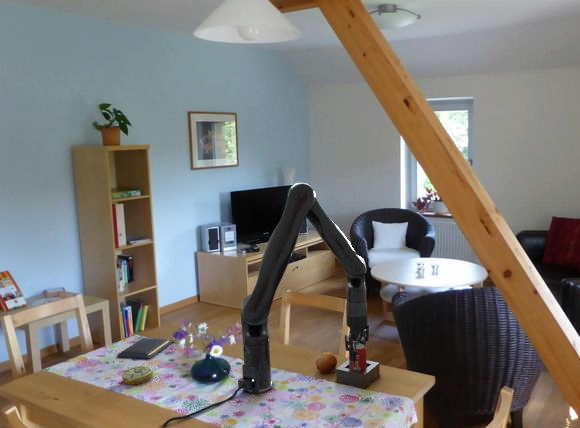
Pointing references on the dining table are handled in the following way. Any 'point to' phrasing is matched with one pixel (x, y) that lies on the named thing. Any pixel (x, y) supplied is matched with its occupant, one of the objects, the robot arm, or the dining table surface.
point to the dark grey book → (145, 348)
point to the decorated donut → (137, 374)
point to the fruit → (326, 362)
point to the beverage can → (359, 359)
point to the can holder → (358, 374)
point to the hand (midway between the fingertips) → (357, 357)
